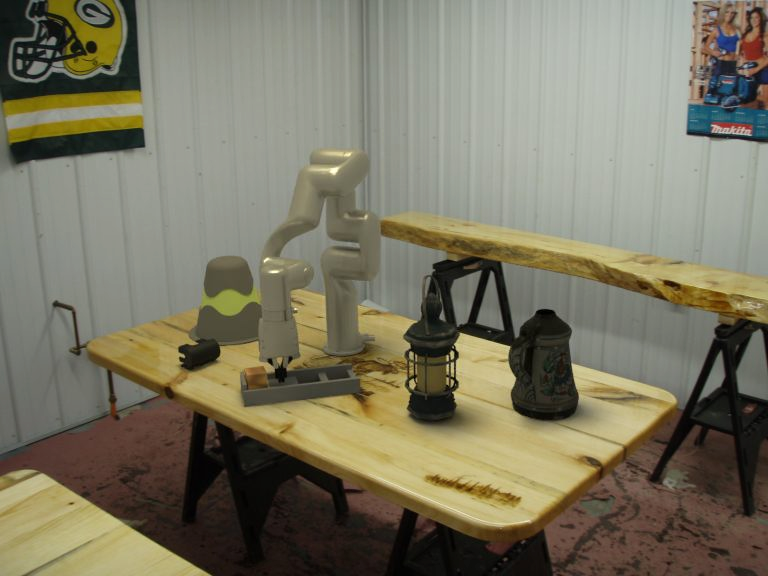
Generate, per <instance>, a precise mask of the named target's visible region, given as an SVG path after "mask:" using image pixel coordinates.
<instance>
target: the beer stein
mask: <svg viewBox="0 0 768 576" xmlns="http://www.w3.org/2000/svg"><path fill="white" fill-rule="evenodd" d="M518 333H519V334H518V336H517V337H516V338H515V339H514V340H513V341H512V343H511V345H510V348H509V350H508V356H507V358H508V359H507V360H508V365H509V368H510V371H511V373H512V375H513V376H514V377H515V381H514V383H513V387H512V388H511V390H510V398H511V404H512V407H513V410H514V411H515V412H516V413H518V414H520V415H521V416H524V417H526V418H529V419H533V420H537V421H538V420H539V421H560V420H565V419H567V418H570V417H571V416H573V415H574V414H575V413H576V411H577V408H578V404H579V400H580V394H579V390H578V389H577V386H576V382H575V377H574V372H573V365H572V355H571V346H570V339H571V338H572V334H573V329H572V327H571V326H570V324H568V323H567V322H566V321H565V320H563V319H562V318H561V317H559V316H558V315H557V314H556V311H555V310H554V309H550V308H540V309H537V310H536V311H535V313H534V315H533V316H531V317H530V318H529V319H527V320H526V321H525V322H523V324H522V325H521V326H520V327H519V332H518Z"/></svg>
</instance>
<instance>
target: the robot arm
mask: <svg viewBox="0 0 768 576" xmlns="http://www.w3.org/2000/svg"><path fill="white" fill-rule="evenodd" d="M370 161H371V160H370V157H369V155H368V154H367V152H366V151H364V150H362V149H358V148H338V147H322V148H321V147H319V148H316V149H314V150H313V151H312V152H311V153H310V154H309V164H308V165H304V166H303V167H302V168H301V169H300V170H299V172H298V174H297V177H296V182H295V185H294V189H293V193H292V197H291V201H290V206H289V210H288V214H287V217H286V218H285V219H284V220H283V221H282V222H281V223H280V224H279V225H278V226H277V227H276V228H275V229H274V230H273V231H272V232H271V233H270V235H269V236H268V237H267V239H266V241H265V243H264V245H263V249H262V253H261V256H260V260H259V268H258V270H259V271H258V275H259V289H260V291H259V292H260V301H261V306H262V318H260V320H259V328H258V340H257V341H258V351H259V355H258V361H259V362H260V363H264V364H265V363H266V364H267V363H268V364H269V365H270V366H272V367H273V369H274V372H275V379H278V382H279V383H281V382H285V378H287V370H288V369H287V367H288V366H289V365H290V363H291V362H292V361H294V360H298V359H299V358H301V353H300V342H299V333H298V327H297V321H296V318H295V317H296V316H294V314H298V307H293V306H292V297H291V296H292V294H291V292H292V291H296V290H297V291H298V290H302V289H304V288H306V287H308V286H309V285H310V284H311V283H312V281H313V279H314V276H315V272H314V271H315V270H314V267H313V265H312V264H311V262H309V261H307V260H305V259H299V258H298V259H297V258H291V257H282V256H281V253H282V251H283V249H284V248H285V246H286V245H287V244H288V243H289V242H291V241H292V240H293V239H295V238H297V237H299V236H302V235H303V234H306V233H309V232H311V231H314V230H315V229H317V228H319V226H320V222H321V218H322V213H323V209H324V206H325V232H326V235H327V237H328V238H329V239H331V240H332V241H337V242H344V243H355V244H359V247H357V246H349V245H331V246H327V247H326V248H325V249H324V250H322V253H321V254H320V257H319V263H320V269H321V270H320V271H321V274H322V277H323V284H324V293H325V294H324V298H325V299H324V301H325V320H326V321H325V322H326V341H325V342H323V344H322V348H321V349H322V351H323V352H324V353H325V354H327V355H330V356H334V357H335V356H336V357H337V356H338V357H345V356H353V355H357V354H359V353H361V352H363V351H364V350H365V343H366V342H369V343H370V342H371V343H372V342H375V340H376V338H375V335H374V334H369V333H363V334H361V333H360V332H359V329H360V327H359V301H358V299H359V298H358V296H359V295H358V290H357V289H358V288H357V287H356V284H355V283H354V281H356V282H357V281H359V282H372V281H375V280H376V278H377V277H378V275H379V272H380V268H381V267H380V266H381V245H382V244H381V241H382V240H381V237H382V235H381V234H382V232H381V230H382V228H381V221H380V218H379V216H378V215H377V213H375V212H374V211H371V210H368V209H359V208H358V209H357V206H356V205H357V204H356V203H357V202H356V201H357V199H356V196H357V195H356V188H357V187H358V186H359V185H360V184H361V183H362V182H363V181H364V180H365V178H366V177H367V175H368V173H369V171H370V164H371V163H370ZM278 358H282V359H281V363H279V362H278ZM281 380H282V381H281Z"/></svg>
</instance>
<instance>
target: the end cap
mask: <svg viewBox="0 0 768 576" xmlns="http://www.w3.org/2000/svg"><path fill="white" fill-rule="evenodd" d="M194 342H195V343H196V344H189V343H185V344H181V345H179V346H178V348H177V351H178V352H177V353H179V354H181V355H183V357H182V356H178V360H179V363H181V364H180V367H181V368H183V369H186V370H193V369H196V368H198V367H201V366H204V365H207V364H209V363H212V362H215V361H216V360H218V359H219V357H220V356H221V352H222V350H221V347H220V346H221V345H219V344H218V342H217V341H216V340H215V339H210V340H206V339H203V338H202V339H199V340H196V341H194Z"/></svg>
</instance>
